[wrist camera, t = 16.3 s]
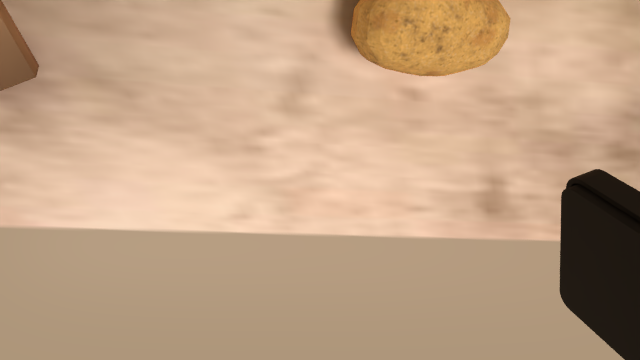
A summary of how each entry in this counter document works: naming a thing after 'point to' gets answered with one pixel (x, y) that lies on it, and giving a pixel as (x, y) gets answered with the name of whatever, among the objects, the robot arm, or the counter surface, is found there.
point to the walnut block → (14, 53)
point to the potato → (429, 34)
